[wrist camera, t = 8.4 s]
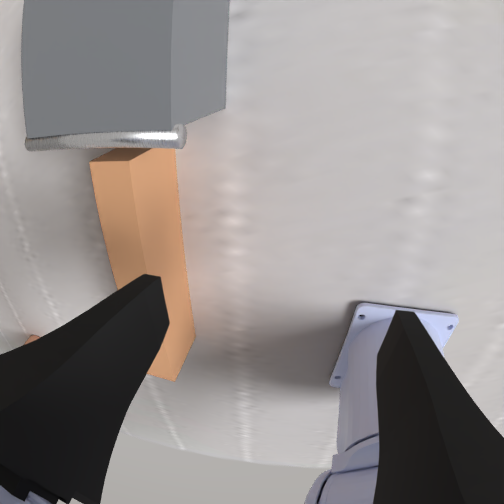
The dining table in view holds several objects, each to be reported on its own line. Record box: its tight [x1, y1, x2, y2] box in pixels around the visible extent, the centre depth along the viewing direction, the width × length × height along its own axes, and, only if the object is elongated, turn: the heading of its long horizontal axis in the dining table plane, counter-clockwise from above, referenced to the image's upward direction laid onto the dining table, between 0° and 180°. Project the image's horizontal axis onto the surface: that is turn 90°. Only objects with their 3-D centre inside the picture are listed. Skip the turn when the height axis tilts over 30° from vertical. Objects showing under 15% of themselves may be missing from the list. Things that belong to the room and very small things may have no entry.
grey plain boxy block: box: [21, 0, 229, 151], centre depth 11 cm, size 11×8×6 cm
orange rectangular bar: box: [89, 148, 196, 382], centre depth 19 cm, size 16×2×5 cm, turn 179°
